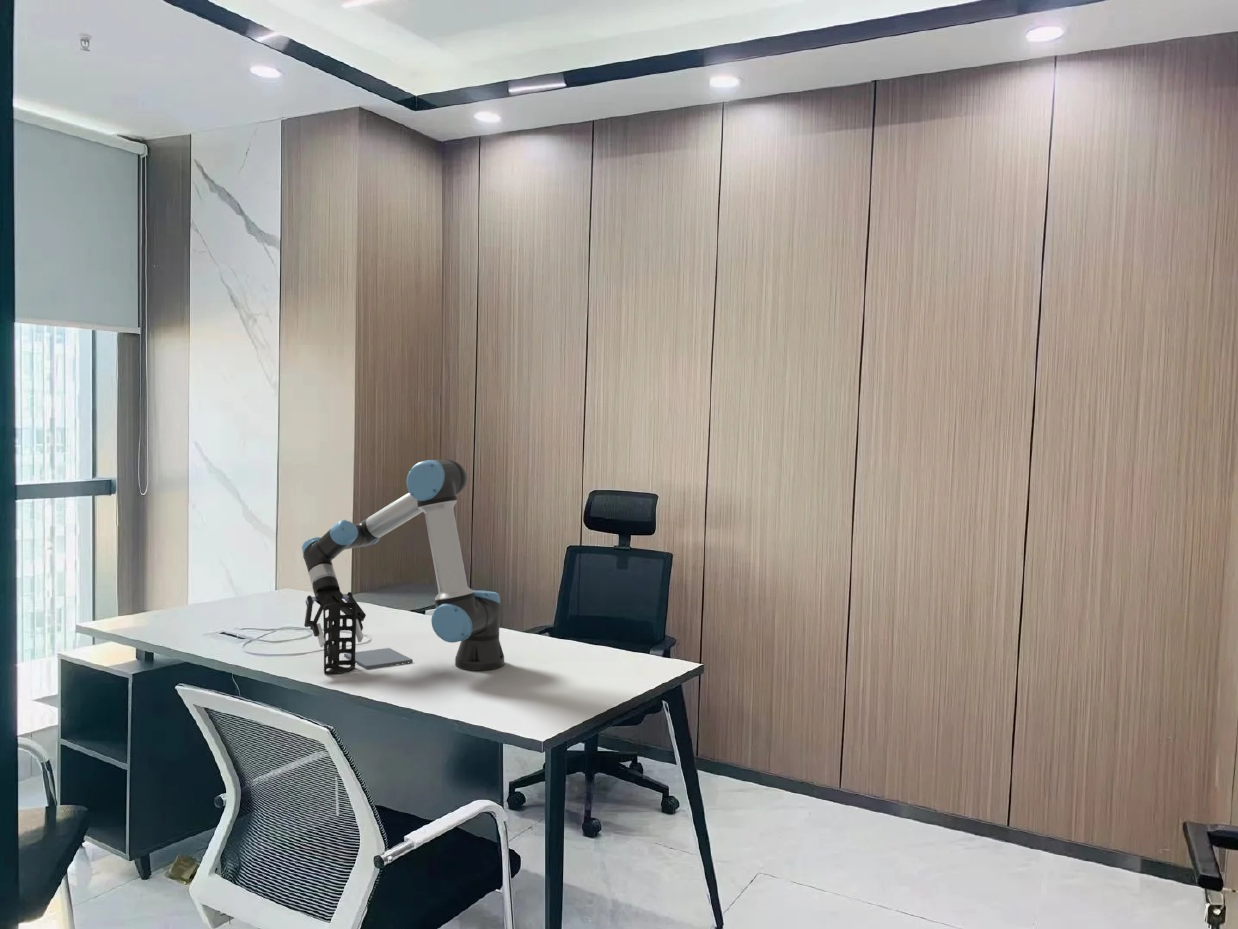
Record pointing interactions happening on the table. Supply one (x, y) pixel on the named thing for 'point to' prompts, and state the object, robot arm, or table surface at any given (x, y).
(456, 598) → the robot arm
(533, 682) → the table surface
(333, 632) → the holder
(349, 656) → the mat
